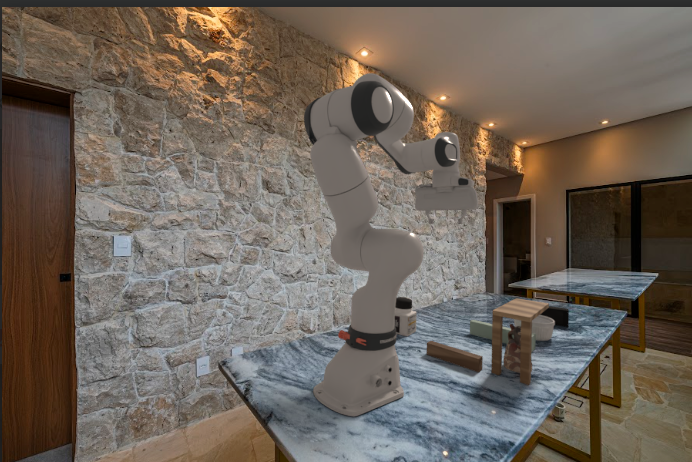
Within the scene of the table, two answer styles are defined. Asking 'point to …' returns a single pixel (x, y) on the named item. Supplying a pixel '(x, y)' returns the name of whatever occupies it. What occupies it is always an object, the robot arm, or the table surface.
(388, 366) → the robot arm
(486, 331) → the sage green l-bracket
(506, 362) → the figurine
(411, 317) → the container
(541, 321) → the ramekin
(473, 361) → the stick
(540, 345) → the table surface
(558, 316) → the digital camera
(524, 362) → the shelf
